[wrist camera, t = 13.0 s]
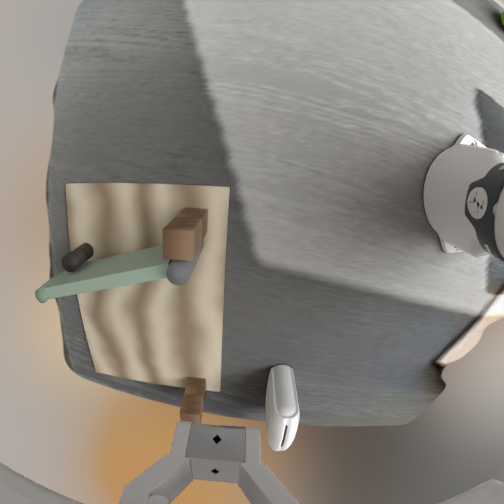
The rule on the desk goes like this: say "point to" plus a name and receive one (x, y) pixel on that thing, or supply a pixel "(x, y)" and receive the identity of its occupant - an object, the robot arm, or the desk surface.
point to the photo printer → (281, 408)
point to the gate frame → (154, 283)
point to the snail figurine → (502, 18)
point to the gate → (118, 273)
